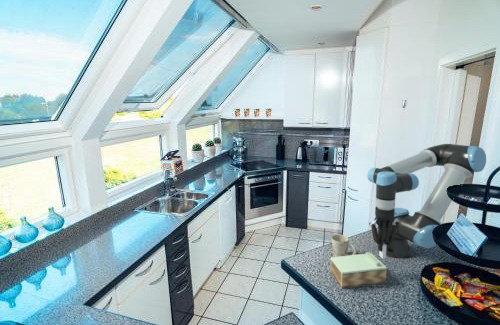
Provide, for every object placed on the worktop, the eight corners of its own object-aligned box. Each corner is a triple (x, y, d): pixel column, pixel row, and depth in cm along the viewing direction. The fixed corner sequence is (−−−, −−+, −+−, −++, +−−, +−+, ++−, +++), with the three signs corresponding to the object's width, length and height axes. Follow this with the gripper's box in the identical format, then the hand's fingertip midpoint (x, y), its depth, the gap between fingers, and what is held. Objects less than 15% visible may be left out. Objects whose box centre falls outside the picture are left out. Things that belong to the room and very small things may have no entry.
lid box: (370, 267, 126) (370, 255, 125) (385, 283, 114) (386, 269, 113) (330, 272, 124) (330, 259, 123) (341, 288, 112) (342, 274, 111)
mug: (335, 250, 143) (335, 233, 141) (359, 257, 135) (359, 239, 133) (329, 256, 137) (329, 239, 135) (353, 264, 129) (354, 245, 127)
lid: (370, 254, 125) (371, 250, 124) (386, 269, 113) (386, 264, 113) (330, 259, 123) (330, 254, 122) (342, 274, 111) (342, 269, 111)
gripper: (393, 203, 119) (390, 251, 123) (366, 205, 117) (364, 254, 122) (404, 209, 111) (401, 260, 116) (375, 211, 110) (373, 263, 114)
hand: (382, 256), depth 119 cm, fingers closed
